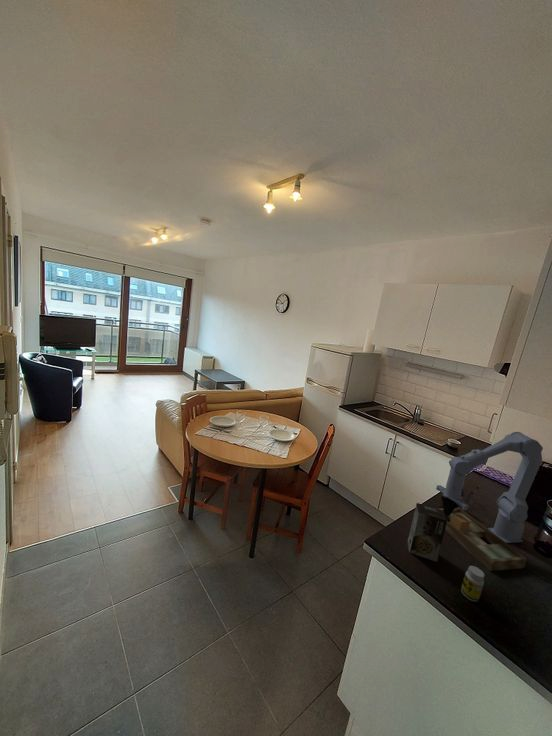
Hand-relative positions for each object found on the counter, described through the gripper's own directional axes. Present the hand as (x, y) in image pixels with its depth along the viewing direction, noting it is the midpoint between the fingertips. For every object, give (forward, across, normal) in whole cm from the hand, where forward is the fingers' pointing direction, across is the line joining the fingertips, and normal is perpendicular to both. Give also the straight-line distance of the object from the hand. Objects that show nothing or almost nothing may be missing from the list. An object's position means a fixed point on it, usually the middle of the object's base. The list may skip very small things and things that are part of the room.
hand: (446, 514), depth 122 cm
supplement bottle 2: (+4, +31, -22) cm, 38 cm away
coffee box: (+4, +14, -25) cm, 29 cm away
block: (+1, +6, 0) cm, 6 cm away
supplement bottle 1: (+4, -9, +13) cm, 16 cm away
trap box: (+3, +10, +3) cm, 11 cm away
